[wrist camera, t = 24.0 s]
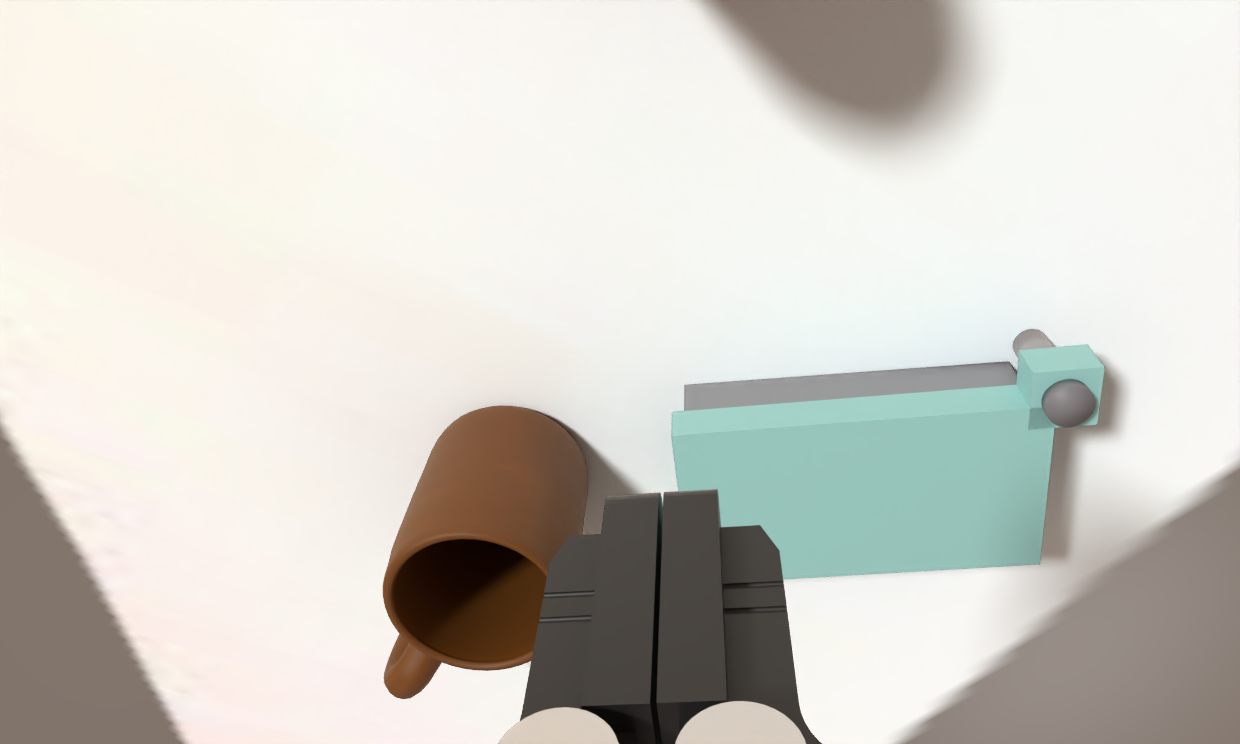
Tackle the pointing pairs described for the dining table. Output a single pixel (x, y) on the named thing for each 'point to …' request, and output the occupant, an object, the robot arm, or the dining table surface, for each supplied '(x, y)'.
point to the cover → (895, 470)
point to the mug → (481, 544)
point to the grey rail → (859, 382)
